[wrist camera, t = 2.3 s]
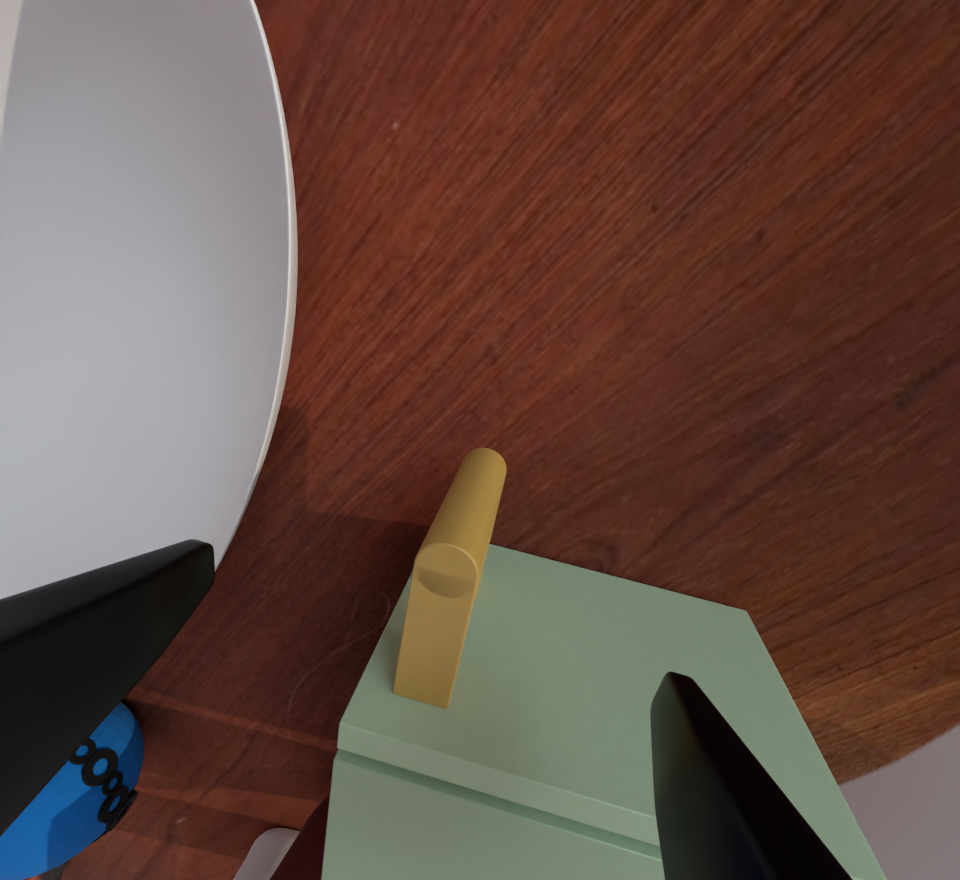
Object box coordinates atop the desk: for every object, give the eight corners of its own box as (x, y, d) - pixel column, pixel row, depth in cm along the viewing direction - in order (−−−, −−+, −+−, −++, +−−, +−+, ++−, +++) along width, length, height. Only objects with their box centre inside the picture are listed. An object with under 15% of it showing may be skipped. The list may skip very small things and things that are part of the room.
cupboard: (429, 549, 21) (332, 760, 12) (733, 630, 20) (869, 925, 11) (402, 700, 25) (314, 944, 16) (655, 775, 24) (711, 1081, 15)
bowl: (89, -168, 14) (-240, -463, 8) (504, 146, 15) (469, 79, 9) (-34, 519, 25) (-203, 593, 20) (204, 665, 26) (108, 774, 21)
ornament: (51, 717, 31) (-165, 911, 22) (64, 634, 28) (-186, 823, 18) (167, 775, 31) (3, 991, 22) (194, 701, 28) (12, 920, 19)
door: (452, 417, 18) (356, 555, 10) (805, 501, 17) (1044, 740, 9) (429, 546, 21) (335, 748, 12) (737, 628, 20) (871, 912, 11)
